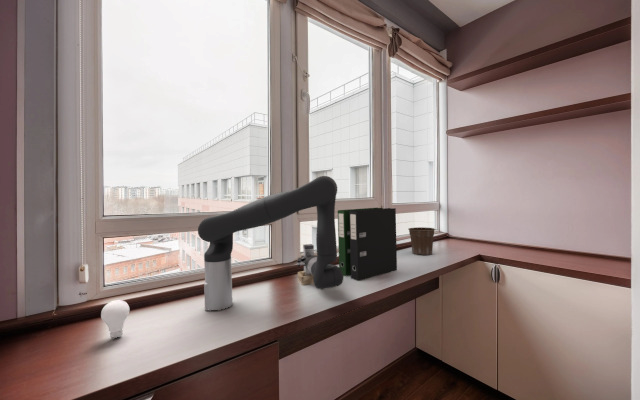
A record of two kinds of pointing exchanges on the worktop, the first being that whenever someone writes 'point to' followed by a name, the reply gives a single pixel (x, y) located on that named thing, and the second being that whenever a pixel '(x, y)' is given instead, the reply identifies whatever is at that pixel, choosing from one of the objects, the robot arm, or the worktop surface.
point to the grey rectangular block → (308, 252)
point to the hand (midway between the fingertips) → (307, 257)
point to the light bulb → (115, 316)
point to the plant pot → (422, 240)
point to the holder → (305, 279)
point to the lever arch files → (367, 242)
